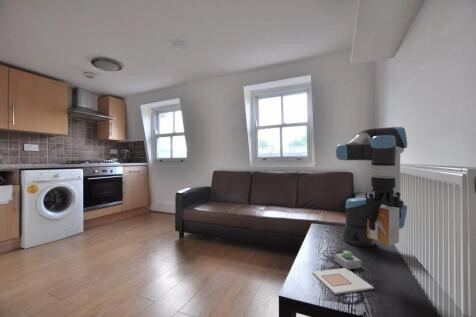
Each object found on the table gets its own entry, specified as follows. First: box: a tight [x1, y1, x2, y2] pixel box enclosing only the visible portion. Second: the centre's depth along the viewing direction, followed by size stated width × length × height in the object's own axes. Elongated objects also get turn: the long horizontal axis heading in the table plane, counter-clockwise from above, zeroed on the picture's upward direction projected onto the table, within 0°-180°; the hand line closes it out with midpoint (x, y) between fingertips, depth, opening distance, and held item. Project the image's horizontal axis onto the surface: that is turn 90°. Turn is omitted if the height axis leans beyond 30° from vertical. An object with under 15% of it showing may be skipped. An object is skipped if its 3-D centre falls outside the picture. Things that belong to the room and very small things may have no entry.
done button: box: [342, 250, 353, 260], centre depth 88 cm, size 3×3×2 cm
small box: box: [367, 205, 400, 246], centre depth 79 cm, size 8×6×13 cm
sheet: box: [312, 267, 375, 295], centre depth 76 cm, size 15×13×1 cm
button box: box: [333, 252, 362, 270], centre depth 88 cm, size 7×7×3 cm
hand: (382, 237), depth 79 cm, fingers closed on small box, 7 cm apart
